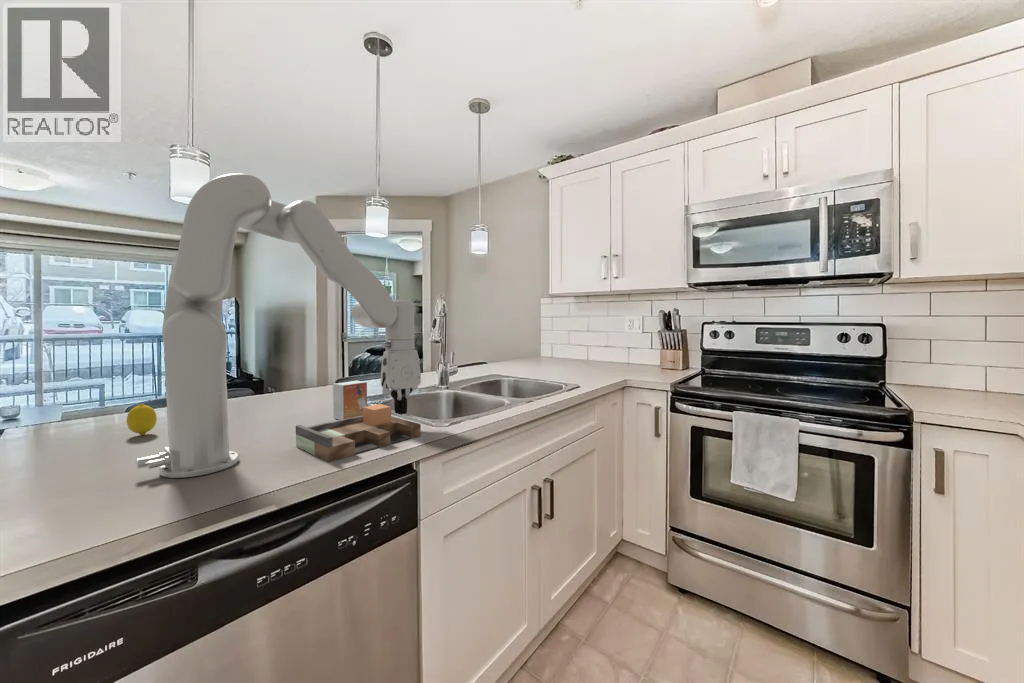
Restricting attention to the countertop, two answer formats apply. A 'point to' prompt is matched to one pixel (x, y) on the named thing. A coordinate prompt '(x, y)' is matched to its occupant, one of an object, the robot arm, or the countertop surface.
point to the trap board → (352, 436)
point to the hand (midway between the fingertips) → (400, 413)
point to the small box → (349, 399)
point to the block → (376, 414)
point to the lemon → (141, 419)
